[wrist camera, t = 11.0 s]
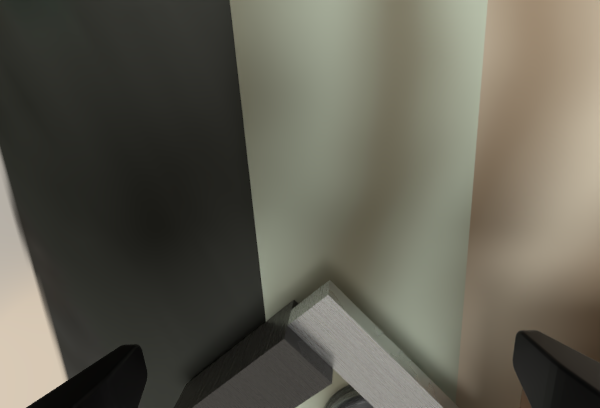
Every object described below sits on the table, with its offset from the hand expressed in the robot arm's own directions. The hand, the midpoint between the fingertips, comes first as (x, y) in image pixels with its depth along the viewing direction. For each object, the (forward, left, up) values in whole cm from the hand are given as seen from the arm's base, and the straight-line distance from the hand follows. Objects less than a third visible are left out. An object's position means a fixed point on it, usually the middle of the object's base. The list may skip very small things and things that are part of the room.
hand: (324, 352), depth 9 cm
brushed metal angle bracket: (-4, +5, -4) cm, 7 cm away
